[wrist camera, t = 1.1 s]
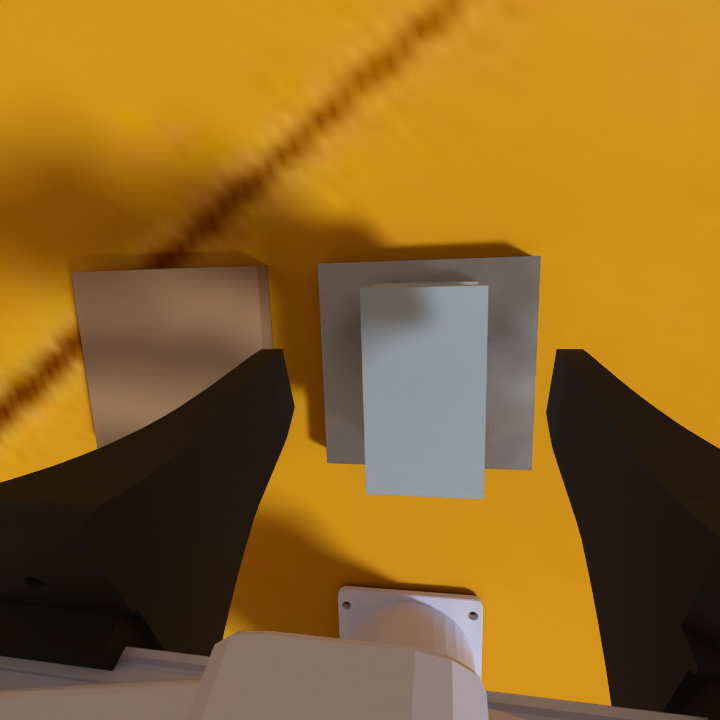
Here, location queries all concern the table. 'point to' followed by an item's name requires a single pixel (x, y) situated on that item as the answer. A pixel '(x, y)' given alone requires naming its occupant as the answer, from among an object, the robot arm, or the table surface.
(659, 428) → the robot arm
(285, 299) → the table surface
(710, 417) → the table surface
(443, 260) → the stand
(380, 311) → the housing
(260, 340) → the stand
